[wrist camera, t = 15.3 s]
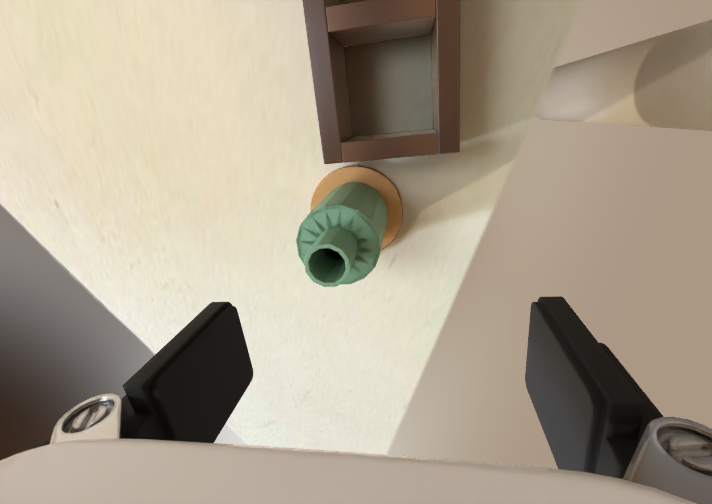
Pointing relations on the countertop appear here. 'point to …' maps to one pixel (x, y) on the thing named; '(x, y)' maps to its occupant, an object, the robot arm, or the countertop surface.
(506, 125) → the countertop surface
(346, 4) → the rack
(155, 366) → the robot arm
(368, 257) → the bottle
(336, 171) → the coaster
